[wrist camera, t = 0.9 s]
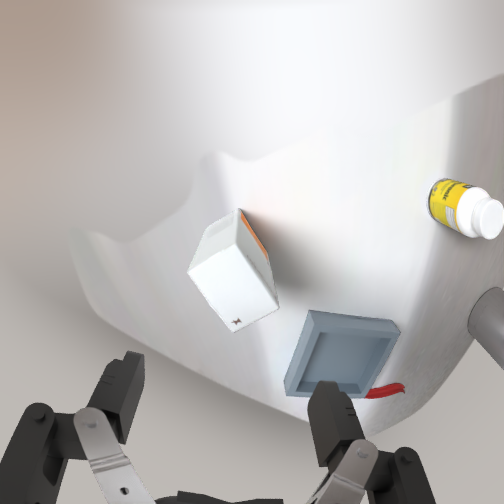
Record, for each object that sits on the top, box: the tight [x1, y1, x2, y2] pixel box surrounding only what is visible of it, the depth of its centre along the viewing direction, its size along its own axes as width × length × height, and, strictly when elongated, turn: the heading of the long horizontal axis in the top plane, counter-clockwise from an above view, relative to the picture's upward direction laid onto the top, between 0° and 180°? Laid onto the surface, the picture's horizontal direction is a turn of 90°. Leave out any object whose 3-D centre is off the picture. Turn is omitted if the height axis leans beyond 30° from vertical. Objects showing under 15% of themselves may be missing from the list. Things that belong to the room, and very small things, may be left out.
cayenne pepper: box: [365, 383, 405, 399], centre depth 41 cm, size 12×5×2 cm, turn 65°
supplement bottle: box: [426, 178, 504, 239], centre depth 26 cm, size 5×5×10 cm
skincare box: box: [187, 208, 279, 333], centre depth 26 cm, size 6×4×12 cm
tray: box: [284, 310, 401, 398], centre depth 36 cm, size 12×12×3 cm
